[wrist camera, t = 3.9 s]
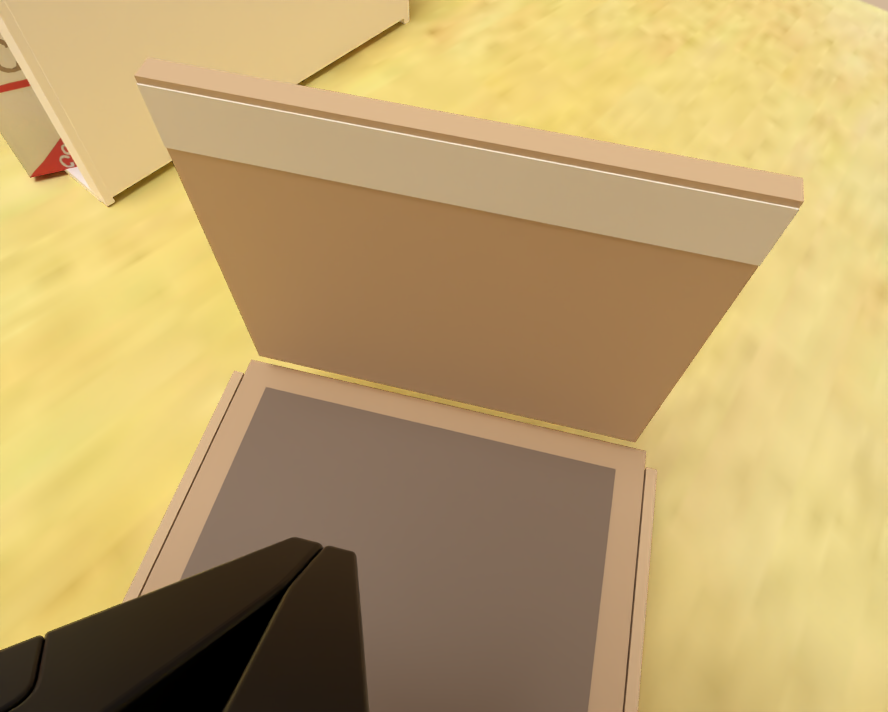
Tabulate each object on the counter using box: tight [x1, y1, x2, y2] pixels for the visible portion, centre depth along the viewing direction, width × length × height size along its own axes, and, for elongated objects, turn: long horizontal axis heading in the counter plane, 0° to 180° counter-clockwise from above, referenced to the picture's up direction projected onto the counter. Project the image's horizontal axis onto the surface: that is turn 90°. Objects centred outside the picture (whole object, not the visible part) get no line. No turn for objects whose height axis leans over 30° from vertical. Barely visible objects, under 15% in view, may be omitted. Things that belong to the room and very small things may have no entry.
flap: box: [134, 57, 804, 442], centre depth 15 cm, size 10×11×1 cm
